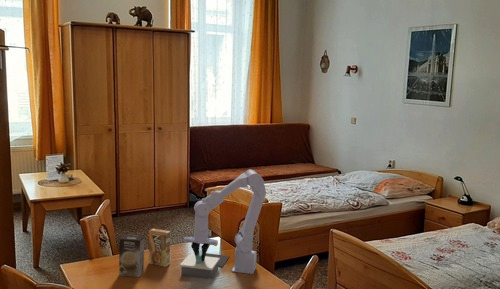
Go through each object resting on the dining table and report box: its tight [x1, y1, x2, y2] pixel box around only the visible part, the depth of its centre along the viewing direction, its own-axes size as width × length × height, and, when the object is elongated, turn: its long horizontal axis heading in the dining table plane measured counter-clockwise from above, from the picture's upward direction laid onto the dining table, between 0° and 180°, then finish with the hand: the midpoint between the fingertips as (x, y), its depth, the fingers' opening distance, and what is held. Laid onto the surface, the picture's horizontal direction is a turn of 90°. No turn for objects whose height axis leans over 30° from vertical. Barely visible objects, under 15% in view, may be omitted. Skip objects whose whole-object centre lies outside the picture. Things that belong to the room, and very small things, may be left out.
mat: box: [205, 252, 230, 268], centre depth 216 cm, size 16×13×1 cm
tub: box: [180, 263, 219, 280], centre depth 202 cm, size 13×11×4 cm
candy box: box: [148, 228, 171, 267], centre depth 208 cm, size 9×4×15 cm, turn 70°
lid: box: [179, 250, 220, 270], centre depth 202 cm, size 14×12×5 cm
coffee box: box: [118, 233, 145, 278], centre depth 197 cm, size 9×6×16 cm
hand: (200, 259), depth 202 cm, fingers closed on lid
